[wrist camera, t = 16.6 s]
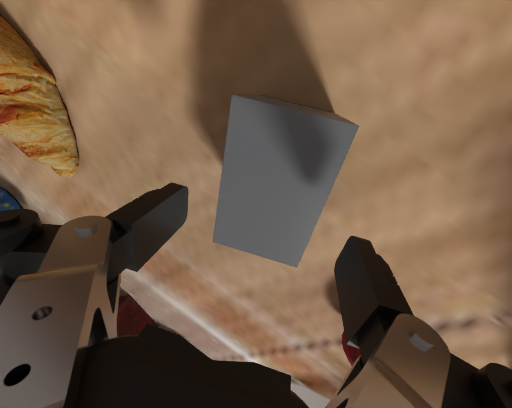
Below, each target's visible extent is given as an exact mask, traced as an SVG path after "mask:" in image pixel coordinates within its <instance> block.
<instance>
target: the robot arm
mask: <svg viewBox="0 0 512 408" xmlns="http://www.w3.org/2000/svg"><path fill="white" fill-rule="evenodd" d="M187 211H188V188H187V187H186V186H182V185H179V184H176V183H169V184H168V185H166V186H164V187H163V188H161V189H156V190H153V191H149V192H147V193H145V194H143V195H141V196H140V197H139V198H136V199H135V200H133V201H132V202H130V203H128V204H126V205H124V206H123V207H121V208H119V209H118V210H116V211H114V212H112V213H111V214H109V215H107V216H106V217H102V216H84V217H79V218H76V219H73V220H71V221H68V222H67V223H65V224H64V225H52V224H41V221H40V218H39V216H38V214H37V213H36V212H35V211H32V210H28V209H11V210H4V211H0V408H309V407H308V406H307V405H306V404H305V403H304V402H303V400H301V399H300V398H299V397H298V396H297V395H296V394H295V393H294V392H292V391H291V390H290V388H291V376H290V375H288V374H285V373H282V372H279V371H277V370H274V369H271V368H268V367H266V366H263V365H260V364H257V363H255V362H237V361H216V360H212V359H210V358H209V357H207V356H206V355H205V354H204V353H202V352H201V351H200V350H198V349H197V348H196V347H194V346H193V345H192V344H191V343H189V342H188V341H187V340H185V339H184V338H183V337H182V336H180V335H177V334H175V333H172V332H169V331H166V330H164V329H161V328H158V327H155V326H153V325H150V324H146V325H145V327H144V328H143V329H142V331H141V332H140V334H139V335H136V334H135V335H125V336H119V337H117V311H118V302H119V292H120V283H121V274H120V273H121V272H122V271H124V270H125V269H126V268H127V269H130V270H133V271H136V272H137V271H138V270H139V269H140V268H141V267H142V266H143V265H144V264H145V263H146V262H147V261H148V260H149V259H150V258H151V257H152V256H153V255H154V254H155V253H156V252H157V251H158V250H159V249H160V248H161V247H162V246H163V245H164V244H165V243H166V242H167V241H168V240H169V239H170V238H171V237H172V236H173V234H174V233H175V232H176V231H177V230H178V229H179V228H180V227H181V226H182V225H183V224H184V222H185V220H186V218H187ZM334 273H335V279H336V285H337V291H338V297H339V303H340V309H341V314H342V320H343V326H344V332H345V338H346V344H347V345H350V346H353V347H356V348H359V351H360V356H359V357H358V359H357V360H356V361H355V363H354V364H353V366H352V368H351V369H350V371H349V372H348V374H347V376H346V377H345V379H344V380H343V382H342V383H341V385H340V387H339V388H338V390H337V391H336V393H335V394H334V396H333V398H332V399H331V400H330V402H329V403H328V405H327V406H326V407H325V408H512V370H511V369H509V368H507V367H505V366H503V365H500V364H497V363H489V364H488V365H486V366H484V367H483V368H481V369H480V370H479V369H477V368H475V367H474V366H472V365H470V364H469V363H467V362H465V361H463V360H462V359H460V358H458V357H457V356H455V355H453V354H451V353H450V352H449V349H448V347H447V345H446V343H445V342H444V341H443V339H442V338H441V337H440V335H439V334H438V333H437V332H436V331H435V330H434V329H433V328H432V327H430V326H429V325H428V324H427V323H425V322H424V321H422V320H421V319H419V318H417V317H415V316H414V315H413V313H412V311H411V309H410V307H409V305H408V303H407V301H406V299H405V297H404V295H403V293H402V291H401V289H400V287H399V285H397V281H396V279H395V277H394V276H393V273H392V271H391V269H390V267H389V265H388V264H387V263H386V262H385V261H384V260H383V258H382V257H381V256H380V255H378V254H376V252H375V250H374V248H373V246H372V243H371V242H370V241H369V240H366V239H362V238H359V237H356V236H350V237H349V239H348V240H347V242H346V244H345V246H344V248H343V249H342V251H341V253H340V255H339V257H338V258H337V260H336V263H335V268H334Z"/></svg>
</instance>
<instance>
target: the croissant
mask: <svg viewBox="0 0 512 408" xmlns="http://www.w3.org/2000/svg"><path fill="white" fill-rule="evenodd" d="M54 84H56V81H55V79H54V77H53V76H52V75H51V74H50V73H49V72H47V71H46V70H45V69H44V68H43V67H42V66H41V65H40V64H39V61H38V60H37V58H36V56H35V54H34V53H33V52H32V50H31V49H30V47H29V46H28V45H27V44H26V43H25V42H24V41H23V39H22V38H21V37H20V36H19V35H18V33H17V32H16V31H15V30H14V28H12V27H11V26H10V25H9V24H8V23H7V22H6V21H5V20H4V19H3V18H2V17H1V16H0V135H3V136H5V137H6V138H7V140H9V141H11V142H13V143H14V144H15V145H16V146H17V147H18V148H19V149H20V150H21V151H22V152H23V153H25V155H26V156H28V157H30V158H32V159H34V160H35V161H38V162H41V163H44V164H47V165H50V166H51V167H52V169H53V170H54V171H55V172H56V173H57V174H59V175H60V176H62V177H63V176H65V177H71V176H73V175H75V173H76V174H77V173H78V169H79V162H78V159H79V157H78V154H77V150H76V140H75V136H74V134H73V133H74V132H73V131H72V129H71V126H70V122H69V119H68V116H67V114H68V113H67V111H66V109H65V107H64V105H63V102H62V100H61V97H60V94H59V91H58V89H57V87H56V86H55V85H54Z"/></svg>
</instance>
